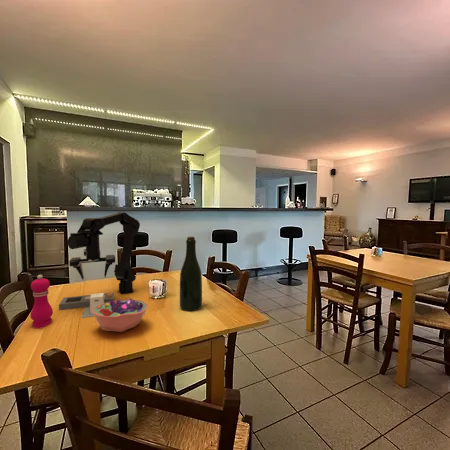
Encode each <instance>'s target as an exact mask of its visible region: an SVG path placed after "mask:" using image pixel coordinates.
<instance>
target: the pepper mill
mask: <svg viewBox="0 0 450 450" xmlns="http://www.w3.org/2000/svg"><path fill="white" fill-rule="evenodd" d="M43 277H44V276H43V274H38V275H37V279H36V278H35V279H34V280H33V281H32V282H31V284H30V289H31V291H33V292H32V296H33V298H34V302H33V305H32V309H31V311H30V316H29V318H30V319H31V320H32V322H31V325H32V327H33V328H36V329H42V328H46V327H47V326H49V325H50V324H52V323H53V319H52V315H53V314H54V311H53V310H54V309H53V308H52V305H51V304H50V303H49V299H48V295H49V293H50V292H49V291H50V290H49V288H50V285H51V284H50V283H51V282H50V280H49V279H47V278H45V277H44V278H43Z"/></svg>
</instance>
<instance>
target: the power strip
mask: <svg viewBox="0 0 450 450" xmlns="http://www.w3.org/2000/svg"><path fill="white" fill-rule="evenodd" d="M103 293H104V303H108V302H110V301H115V292H107V293H105V292H103ZM90 296H91V294H86V295H75V296H67V297H65V296H64V297H63V298H62V299H61V301H60V302H59V304H58V310H59V311H64V310H72V309H80V308H81V309H82V308H86V307H90Z"/></svg>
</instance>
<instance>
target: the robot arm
mask: <svg viewBox="0 0 450 450" xmlns="http://www.w3.org/2000/svg"><path fill="white" fill-rule="evenodd" d="M82 220H83V221H82V223H81V225H80V226H79V229H78V230H77V232H70V234H69V235H70V236H69V237H68V238H67V240H66V243H67V247H68V248H69V249H70V250H76V249H81V248H84V249H83V256H84V257H85V258H81V256H79V257H71V259H70V260H69V262H68V263H69V267H72V268H73V269H76V271H77V272H78V274H79V276H80V277H81V279H82V280H84V279H85V277H84V271H83V264H89V263H99V262H105V264H104V265H105V266H104V267H105V268H104V274H103V275H104V278H106V276H107V273H108V270H109V268H110V266H111V265H113V264H115V263H116V255H115V254H106V256H104V257H101V249H100V247H101V246H100V236H102V235H104V233H103V232H102V231H101V230H102V229H104V228H105V226H108V225H111V224H115V223H117V222H119V224H120V225H122V230H123V234H124V239H123V244H122V245H123V246H122V249H121V256H120V261H119V262H118V264H115V265H114V271H113V273H114V276H115V278H116V281H119V283H118V292H119V294H121V295H123V294H129V293H131V294H132V293H134V289H133V288H134V287H133V282H134V281H136V280H137V279H136V278H137V276H136V274H135V273H133V267H132V264H131V258H132V253H133V247H134V242H135V241H134V240H135V236H137V234H138V233H139V230H140V226H141V224H140V221H139V220H138V219H137V218H134V217H133V216H131V215H129V214H128V213H127V212H122V211H118V212H117V213H113V214H108V215H105V216H102V217H86V218H84V219H82Z"/></svg>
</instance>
